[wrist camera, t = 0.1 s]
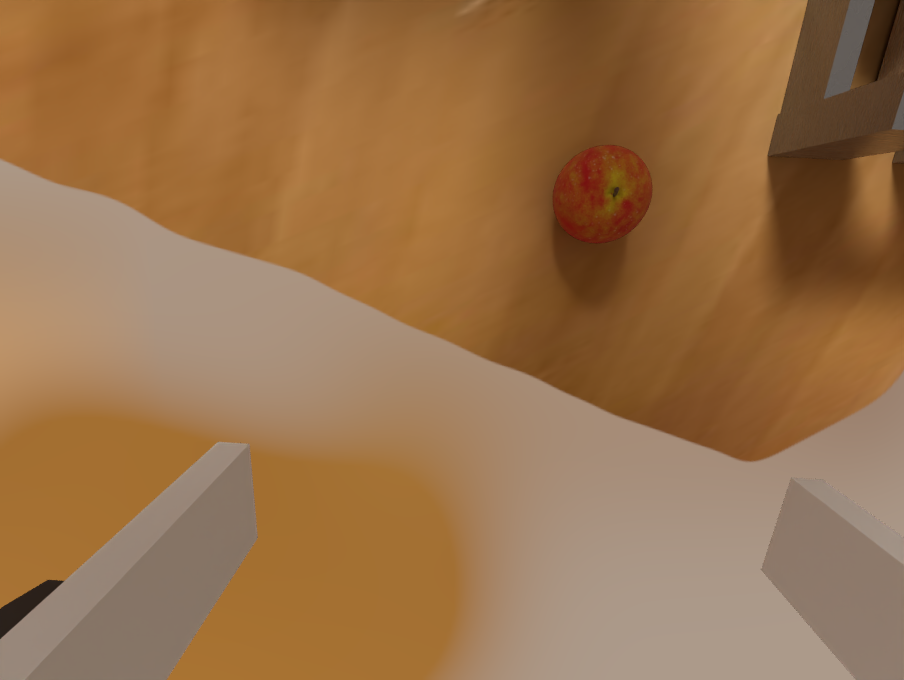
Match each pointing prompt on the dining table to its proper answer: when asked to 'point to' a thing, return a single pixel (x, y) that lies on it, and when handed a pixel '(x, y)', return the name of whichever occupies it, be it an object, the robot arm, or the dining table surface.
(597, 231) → the fruit
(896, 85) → the gauge base
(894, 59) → the grey rectangular block
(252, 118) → the dining table surface
